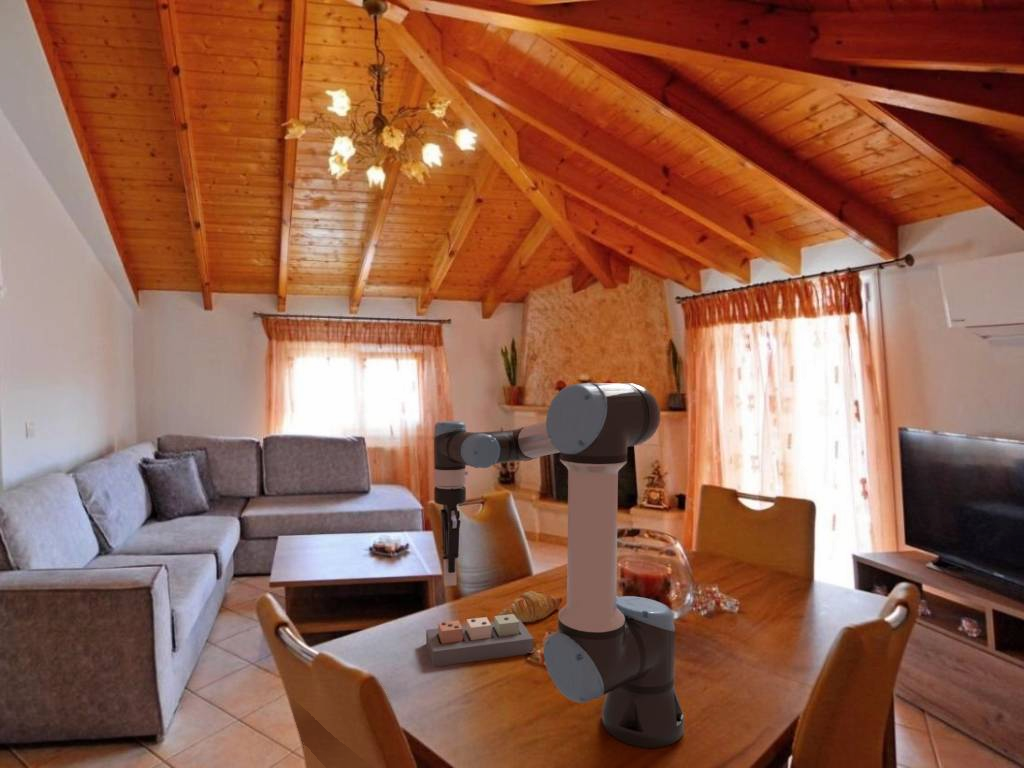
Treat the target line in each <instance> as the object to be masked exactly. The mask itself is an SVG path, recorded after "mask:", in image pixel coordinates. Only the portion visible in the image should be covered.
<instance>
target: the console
mask: <svg viewBox="0 0 1024 768" xmlns="http://www.w3.org/2000/svg"><path fill="white" fill-rule="evenodd" d="M518 621H519V634H516V635H508V636H500V637H499V635H498V633H497V632H496V630H495V628H494V621H489V622H490V624H491V638H485V639H477V640H471V639H470V637H469V635H468V633H467V624H464V625H461V626H462V628H463V641H461V642H453V643H445V644H442V643H441V641H440V638H439V635H438V628H430V629H426V630H425V632H426V633H425V636H426V638H425V639H426V640H425V643H426V644H425V645H426V648H427V650H428V654H429V658H430V660H431V663H432V667H434V668H435V667H441V666H449V665H455V664H456V665H457V664H463V663H472V662H478V661H486V660H493V659H500V658H507V657H514V656H515V657H516V656H521V655H528V654H527V653H529V652H532V651H533V652H534V637H533V636H532V634H531V633H530V632H529V630H528V629H527V627H526V626H525V624H524V622H523V623H522V622H521V621H520V619H518Z"/></svg>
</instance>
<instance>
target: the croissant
mask: <svg viewBox="0 0 1024 768" xmlns="http://www.w3.org/2000/svg"><path fill="white" fill-rule="evenodd" d="M562 601H563V599H562V597H560V596H557V595H556V596H554V595H549V594H546V593H542V591H541V592H540V591H537V590H529V591H524V592H523V593H521V594H520V595H519V596H518V598H515V599H514V600H513V601H512V603H510V605H507V606H505V607H504V608H503V610H502V611H501V612H499V613H498V614H497V615H496V616H500V615H509V614H514V615H515V617H516V618H517V619H520V621H521V622H522V623H523V624H524V623H534V622H536V621H540V620H543V619H544V618H547V617H548V616H549V615H550V614H552V613H553V612H555V611H556V610H557V609H558V608H559V607H560V605H561V603H562Z"/></svg>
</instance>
